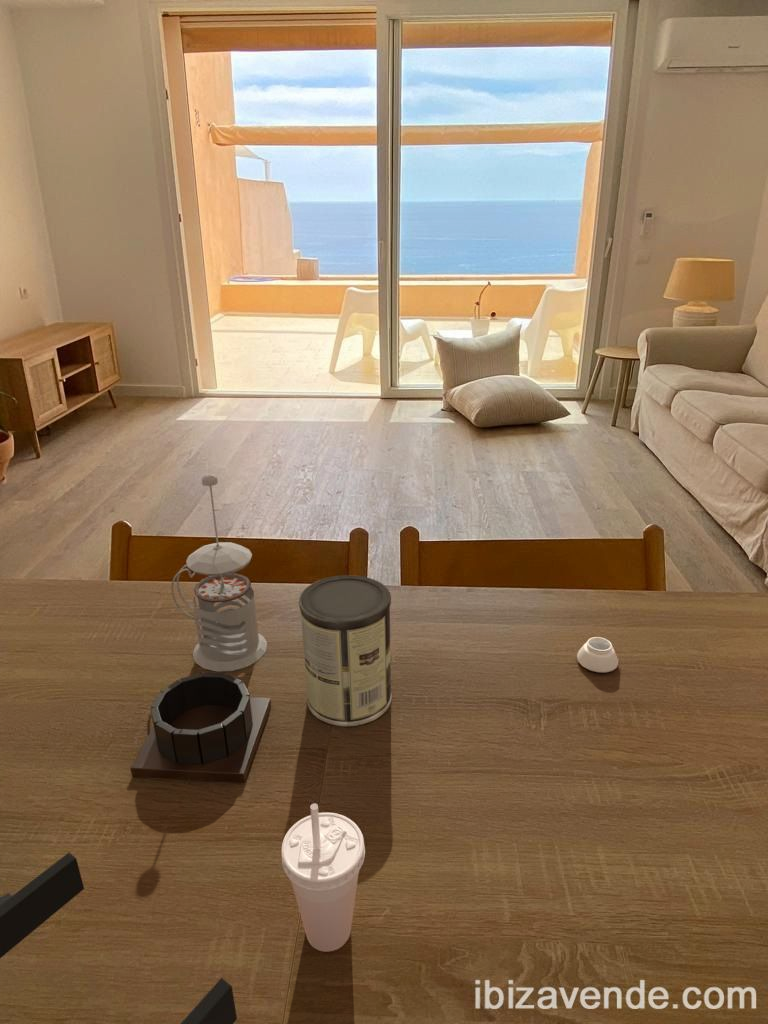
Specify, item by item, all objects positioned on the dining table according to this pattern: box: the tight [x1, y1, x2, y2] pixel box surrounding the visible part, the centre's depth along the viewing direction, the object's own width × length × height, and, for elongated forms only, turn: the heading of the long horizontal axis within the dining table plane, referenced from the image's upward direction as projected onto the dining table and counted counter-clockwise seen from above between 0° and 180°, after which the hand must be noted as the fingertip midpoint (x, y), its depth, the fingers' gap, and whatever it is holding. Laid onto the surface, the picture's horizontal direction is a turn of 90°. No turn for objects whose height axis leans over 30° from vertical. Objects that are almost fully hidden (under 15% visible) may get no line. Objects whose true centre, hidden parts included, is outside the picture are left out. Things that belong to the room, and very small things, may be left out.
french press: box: [170, 473, 268, 673], centre depth 88 cm, size 10×12×25 cm
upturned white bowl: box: [576, 636, 619, 673], centre depth 89 cm, size 5×3×5 cm
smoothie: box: [281, 803, 366, 953], centre depth 54 cm, size 6×6×14 cm
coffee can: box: [298, 574, 393, 727], centre depth 80 cm, size 10×10×14 cm
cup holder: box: [130, 671, 272, 783], centre depth 76 cm, size 12×12×5 cm
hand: (146, 928), depth 40 cm, fingers open, 13 cm apart
